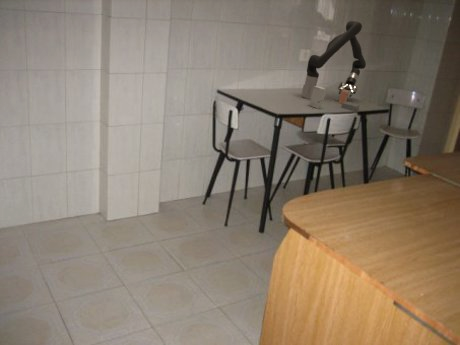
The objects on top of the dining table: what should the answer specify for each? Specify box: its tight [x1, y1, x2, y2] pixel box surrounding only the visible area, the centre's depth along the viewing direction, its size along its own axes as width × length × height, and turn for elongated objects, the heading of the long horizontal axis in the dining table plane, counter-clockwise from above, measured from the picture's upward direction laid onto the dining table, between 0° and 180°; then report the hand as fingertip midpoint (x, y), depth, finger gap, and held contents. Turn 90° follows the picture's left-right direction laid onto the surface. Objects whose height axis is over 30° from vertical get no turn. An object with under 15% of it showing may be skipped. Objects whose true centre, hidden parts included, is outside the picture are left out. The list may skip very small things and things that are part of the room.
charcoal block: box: [341, 101, 361, 112], centre depth 361 cm, size 11×11×4 cm
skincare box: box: [308, 85, 328, 109], centre depth 343 cm, size 8×6×15 cm
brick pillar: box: [338, 90, 350, 105], centre depth 373 cm, size 5×5×10 cm
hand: (344, 95), depth 373 cm, fingers open, 8 cm apart
